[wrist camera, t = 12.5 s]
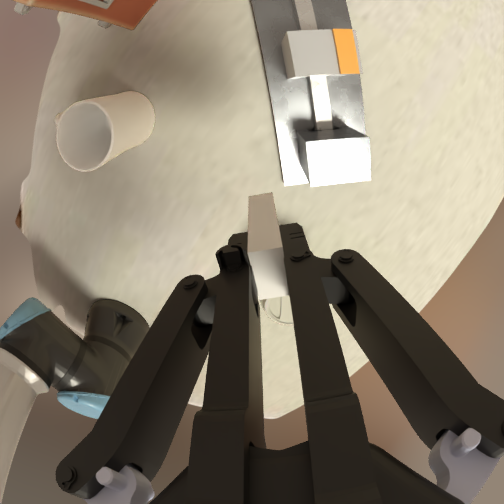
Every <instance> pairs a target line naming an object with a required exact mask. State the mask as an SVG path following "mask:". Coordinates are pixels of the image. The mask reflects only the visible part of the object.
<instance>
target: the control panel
mask: <svg viewBox="0 0 504 504" xmlns="http://www.w3.org/2000/svg"><path fill="white" fill-rule="evenodd" d="M13 1H16V2H17V4H16V6H15V8H14V11H16V12H17V13H19V14H22V15H24V14H27V13H28V12H29V11H30V9H31V8H32V7H39V8H45V9H52V10H58V11H63V12H68V13H72V14H77V15H81V16H85V17H89V18H93V19H97V20H99V21H98V25H99V26H101V27H103V28H108V27H109V26H110V25H111V24H114V25H117V26H121V27H124V28H127V29H130V30H133V29H134V28H135V27H136V26H137V24H138V23H139V22H140V21H141V19H142V18H143V17H144V16H145V14H146V13H147V12H148V11H149V10H150V8H151V7H152V6H153V5H154V4H155V3H156V2H157V0H13Z"/></svg>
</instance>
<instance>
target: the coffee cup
mask: <svg viewBox="0 0 504 504" xmlns="http://www.w3.org/2000/svg"><path fill="white" fill-rule="evenodd" d="M260 301H261V305H262V308H263V309H264V311H265V312H266V314H267V316H268V317H269V318H270V319H271V320H272V321H274V322H276V323H278V324H281V325H287V326H294V324H293V317H292V310H291V304H290V297H289V295H288V296H282V297H276V298H269V299H263V300H260Z"/></svg>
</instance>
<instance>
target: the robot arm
mask: <svg viewBox="0 0 504 504" xmlns="http://www.w3.org/2000/svg"><path fill="white" fill-rule="evenodd" d="M215 255H216V258H217V261H218V264H219V267H220V274H218V275H217V276H215V277H213V278H210V279H208V280H204V277H202V276H201V275H190V276H187V277H185V278H184V279H182V280H181V281H180V282H179V283H178V284H177V286H176V287H175V289H174V290H173V292H172V294H171V295H170V297H169V298H168V300H167V302H166V303H165V305H164V306H163V308H162V310H161V311H160V313H159V314H158V316H157V318H156V319H155V321H154V322H153V324H152V326H151V327H150V328H149V326H148V324H147V322H146V321H145V320H144V318H143V317H142V316H141V315H140V314H139V313H137V312H136V311H135V310H133V309H132V308H130V307H129V306H127V305H125V304H123V303H120V302H117V301H113V300H99V301H97V302H95V303H94V304H93V305H92V307H91V308H90V310H89V312H88V315H87V324H86V329H85V336H84V339H83V340H82V339H81V338H80V337H79V336H78V335H76V334H75V333H74V332H73V331H72V330H71V329H70V328H68V327H67V326H66V325H65V324H64V323H63V322H62V321H61V320H60V319H59V318H58V317H57V316H55V314H54V313H53V312H51V309H49V308H47V307H46V306H45V305H44V304H42V303H41V302H40V301H39V300H38V299H36V298H29V299H27V300H26V301H25V302H24V303H22V304H21V305H20V306H19V308H17V309H16V310H15V311H14V313H13V314H12V315H11V316H10V317H9V318H8V319H7V321H6V322H5V323H4V324H3V326H1V328H0V504H1V502H2V497H3V493H4V488H5V485H6V481H7V477H8V473H9V470H10V466H11V463H12V460H13V456H14V453H15V450H16V447H17V444H18V441H19V438H20V436H21V433H22V430H23V428H24V425H25V423H26V420H27V417H28V415H29V413H30V410H31V408H32V405H33V403H34V401H35V398H36V396H37V395H38V394H40V393H45V392H48V390H49V388H50V386H53V387H54V388H55V389H57V390H58V391H59V392H58V393H57V398H58V401H59V402H61V403H62V404H63V405H64V406H66V407H67V408H69V409H71V410H73V411H75V412H77V413H80V414H82V415H85V416H88V417H91V418H96V419H98V420H97V422H96V424H95V426H94V428H93V430H92V431H91V432H90V433H89V434H88V435H87V437H85V438H84V439H83V440H82V441H81V442H80V443H79V444H78V445H77V446H76V447H75V448H74V449H73V450H72V451H71V452H70V453H69V454H68V455H67V456H66V457H65V458H64V459H63V460H62V461H61V462H60V463H59V465H58V467H57V469H56V481H57V483H58V485H59V487H60V488H61V489H62V490H63V491H65V492H68V493H70V494H72V495H75V496H77V497H80V498H82V499H84V500H85V501H86V502H87V503H88V504H147V503H148V501H149V500H151V499H152V498H153V497H154V490H153V489H152V486H151V484H150V482H151V481H152V479H153V478H154V477H155V475H156V474H157V472H158V471H159V469H160V467H161V465H162V463H163V461H164V459H165V457H166V455H167V452H168V450H169V447H170V445H171V442H172V440H173V437H174V435H175V433H176V430H177V428H178V425H179V423H180V421H181V418H182V416H183V413H184V411H185V408H186V406H187V404H188V401H189V399H190V396H191V394H192V391H193V389H194V387H195V384H196V382H197V379H198V377H199V375H200V372H201V370H202V367H203V365H204V362H205V360H206V358H207V355H208V353H209V357H208V365H207V374H206V383H205V391H204V401H203V407H202V409H201V410H200V411H198V412H197V413H196V414H195V417H194V421H193V429H192V438H191V447H190V457H189V466H187V467H186V468H185V469H184V470H183V471H182V472H181V473H180V474H179V475H178V476H177V477H176V478H175V479H174V480H173V481H172V482H171V483H170V484H169V485H168V486H167V487H166V488H165V489H164V490H163V491H162V492H161V493H160V494H159V495H158V496H157V497H156V498H155V499H154V500H152V501H151V502H150V503H149V504H471V502H472V501H473V499H474V498H475V497H476V496H477V494H478V493H479V491H480V490H481V488H482V487H483V485H484V484H485V482H486V481H487V479H488V477H489V476H490V474H491V473H492V471H493V470H494V468H495V466H496V464H497V463H498V461H499V459H500V458H501V457H502V456H503V455H504V400H503V399H501V398H500V397H498V396H497V395H495V394H493V393H492V392H491V391H489V390H487V389H486V388H484V387H482V386H481V385H480V384H478V383H477V381H476V380H475V379H474V377H473V376H472V375H471V374H470V372H469V371H468V370H467V369H466V367H465V366H464V365H463V364H462V362H461V361H460V360H459V359H458V358H457V357H456V355H455V354H454V353H453V352H452V351H451V349H450V348H449V347H448V346H447V345H446V344H445V342H444V341H443V340H442V339H441V338H440V337H439V336H438V334H437V333H436V332H435V331H434V330H433V329H432V328H431V327H430V325H429V324H428V323H427V322H426V321H425V320H424V319H423V318H422V317H421V316H420V315H419V313H418V312H417V311H416V310H415V309H414V308H413V307H412V306H411V305H410V304H409V303H408V302H407V301H406V300H405V299H404V298H403V297H402V295H401V294H400V293H399V292H398V291H397V290H396V289H395V288H394V287H393V286H392V285H391V284H390V283H389V282H388V281H387V280H386V279H385V278H384V277H383V276H382V275H381V274H380V273H379V272H378V271H377V270H376V269H375V268H374V267H373V266H372V265H371V264H370V263H369V262H368V261H367V260H365V259H364V258H363V257H362V256H361V255H360V254H359V253H358V252H356V251H354V250H350V249H343V250H339V251H337V252H334V254H333V255H332V256H331V259H324V258H318V257H316V256H314V255H313V253H312V252H311V251H310V250H309V247H308V244H307V241H306V238H305V235H304V232H303V229H302V226H300V225H299V224H298V223H293V224H287V225H281V226H279V225H278V219H277V214H276V209H275V204H274V199H273V194H272V192H271V193H265V194H259V195H254V196H249V206H248V232H244V233H238V234H233V235H232V236H231V237H230V239H229V241H228V245H226V246H224V247H222V248H220V249H219V250H218V251H217V252H216V254H215ZM288 295H289V297H290V304H291V310H292V317H293V324H294V330H295V337H296V345H297V352H298V359H299V366H300V374H301V382H302V390H303V398H304V406H305V414H306V423H307V431H308V441H306V442H303V443H300V444H298V445H295V446H292V447H290V448H287V449H284V450H270V449H266V443H265V437H264V414H263V384H262V355H261V327H260V307H259V302H258V298H259V300H263V299H269V298H276V297H282V296H288ZM329 303H330V304H332V305H333V308H334V309H335V311H336V312H337V313H338V315H339V316H340V318H341V319H342V321H343V322H344V324H345V325H346V326H347V328H348V329H349V331H350V332H351V334H352V335H353V337H354V338H355V340H356V341H357V343H358V344H359V346H360V347H361V349H362V350H363V352H364V353H365V355H366V356H367V357H368V359H369V361H370V362H371V364H372V365H373V367H374V368H375V370H376V371H377V373H378V374H379V376H380V377H381V379H382V380H383V382H384V383H385V385H386V386H387V388H388V390H389V391H390V393H391V394H392V396H393V397H394V399H395V400H396V402H397V403H398V405H399V407H400V408H401V410H402V411H403V413H404V415H405V416H406V418H407V419H408V421H409V423H410V424H411V426H412V428H413V429H414V430H415V432H416V433H417V435H418V436H419V438H420V439H421V440H422V441H423V442H424V443H425V444H426V445H427V446H428V448H430V449H431V451H430V454H429V466H430V468H431V469H432V471H433V472H434V473H435V475H436V478H437V485H435V484H433V483H432V482H430V481H429V480H427V479H426V478H424V477H422V476H421V475H419V474H418V473H416V472H415V471H413V470H412V469H410V468H409V467H407V466H406V465H405V464H403V463H402V462H400V461H399V460H397V459H396V458H394V457H393V456H392V455H390V454H389V453H387V452H386V451H385V450H383V449H382V448H380V447H378V446H376V445H374V444H372V443H369V442H368V437H367V433H366V428H365V424H364V419H363V415H362V411H361V407H360V403H359V399H358V397H357V394H356V393H354V392H353V390H352V387H351V384H350V379H349V375H348V371H347V367H346V363H345V360H344V356H343V352H342V348H341V345H340V341H339V337H338V334H337V330H336V327H335V323H334V320H333V316H332V313H331V309H330V306H329Z"/></svg>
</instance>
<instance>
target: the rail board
mask: <svg viewBox="0 0 504 504" xmlns="http://www.w3.org/2000/svg"><path fill="white" fill-rule="evenodd" d="M251 3H252V7H253V12H254V16H255V21H256V26H257V30H258V35H259V40H260V45H261V50H262V55H263V60H264V65H265V70H266V76H267V81H268V87H269V92H270V98H271V103H272V109H273V115H274V121H275V127H276V134H277V140H278V146H279V153H280V159H281V166H282V173H283V180H284V186H288V185H296V184H304V183H309V184H310V186H311V187H313V186H322V185H331V184H341V183H351V182H361V181H371V158H370V137H368V136H366V130H365V117H364V106H363V96H362V88H361V80H360V74H355V75H344V76H317V77H303V78H296V79H287V74H286V68H285V63H284V58H283V52H282V47H281V42H282V40H283V38H284V36H285V34H286V32H287V31H299V30H324V29H352V26H351V21H350V17H349V13H348V8H347V4H346V0H251Z"/></svg>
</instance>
